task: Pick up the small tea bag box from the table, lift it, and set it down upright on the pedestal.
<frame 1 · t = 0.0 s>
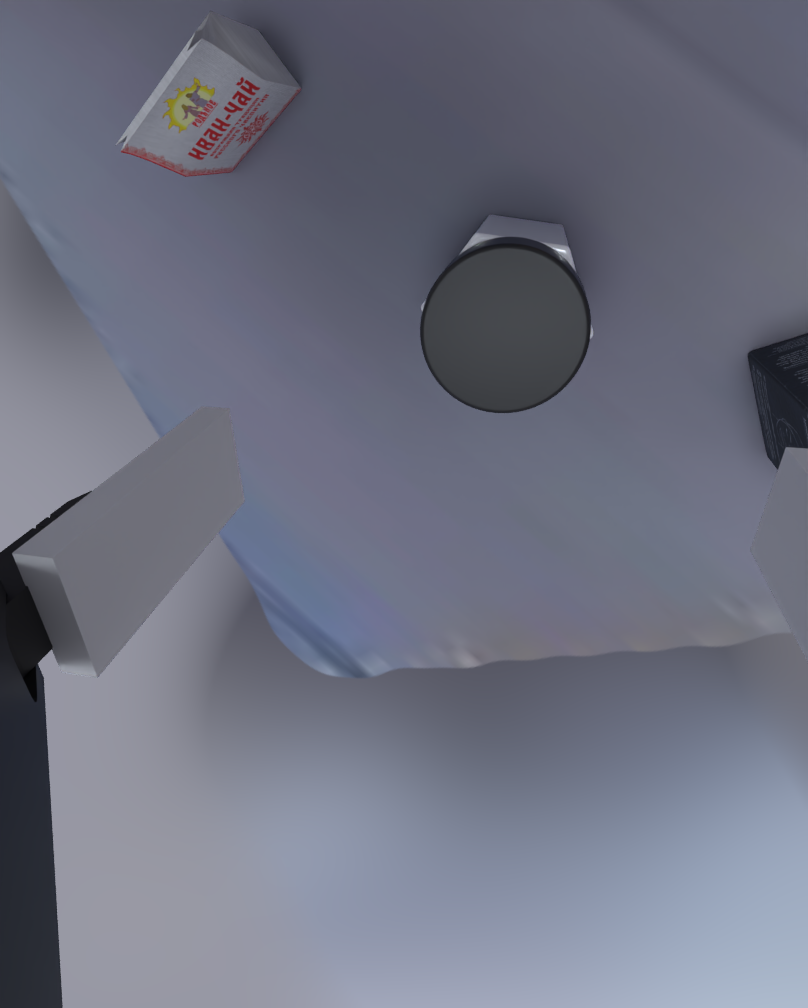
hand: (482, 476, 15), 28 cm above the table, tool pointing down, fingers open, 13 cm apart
box: (803, 390, 39), on the table
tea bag: (245, 105, 37), on the table
jar: (513, 284, 39), on the table
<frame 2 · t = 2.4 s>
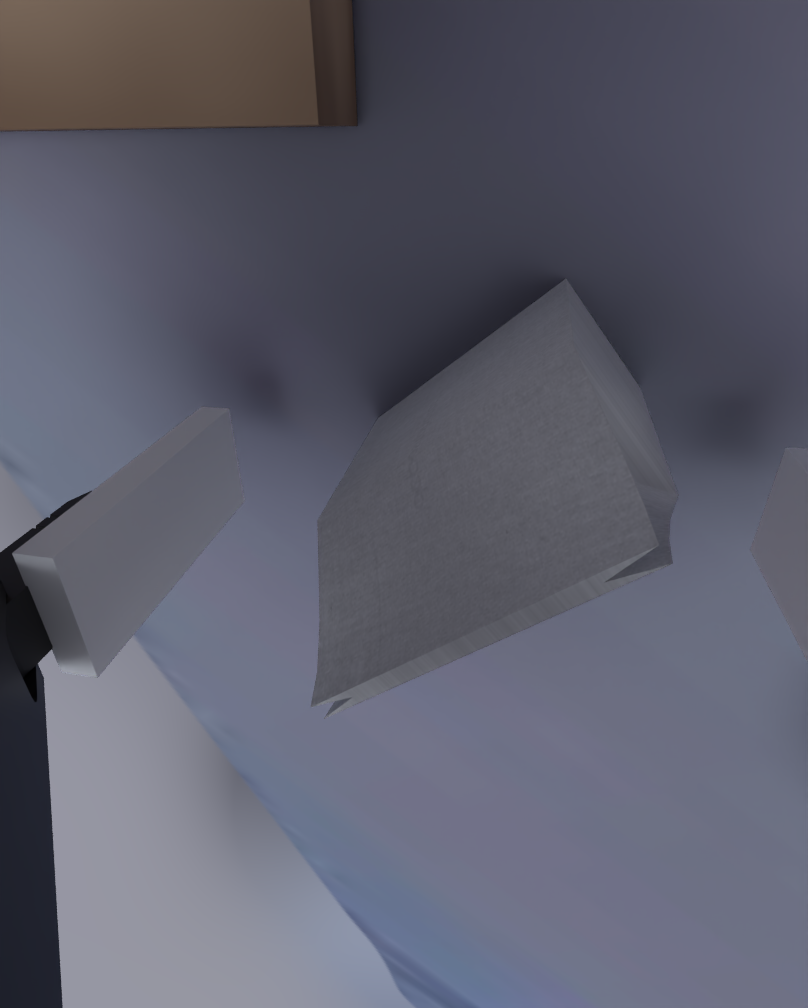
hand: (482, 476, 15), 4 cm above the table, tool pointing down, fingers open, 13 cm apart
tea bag: (501, 401, 18), on the table
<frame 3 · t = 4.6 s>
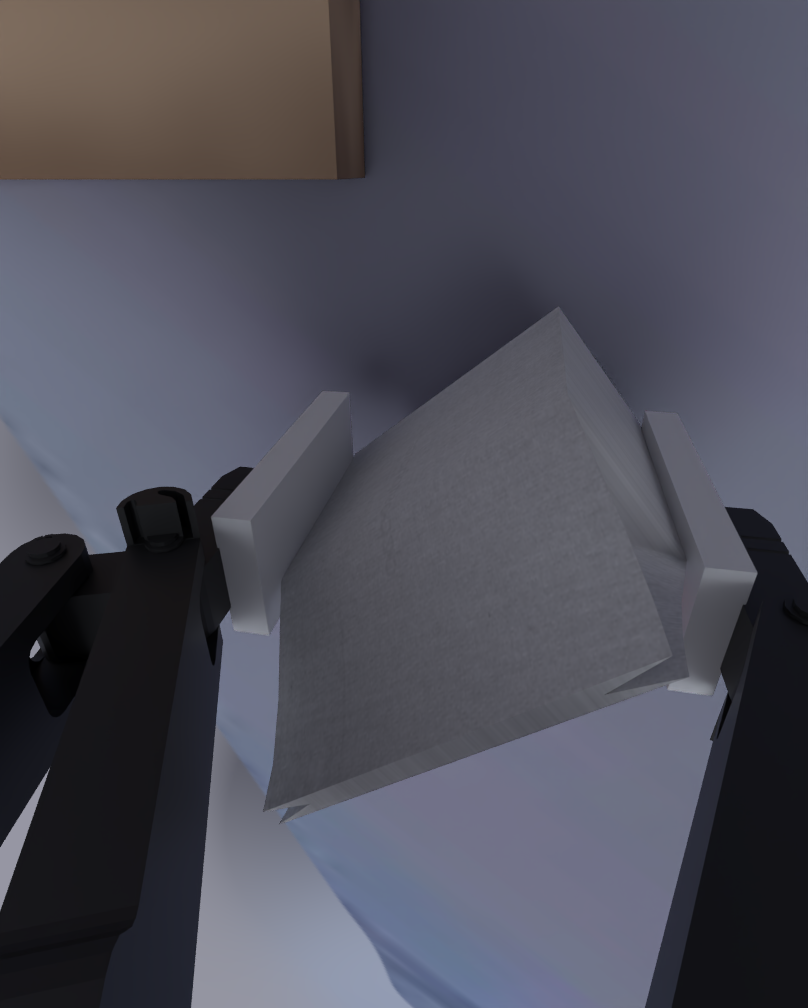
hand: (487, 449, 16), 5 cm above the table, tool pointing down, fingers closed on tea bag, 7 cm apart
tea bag: (489, 436, 17), point 4 cm above the table, touching gripper
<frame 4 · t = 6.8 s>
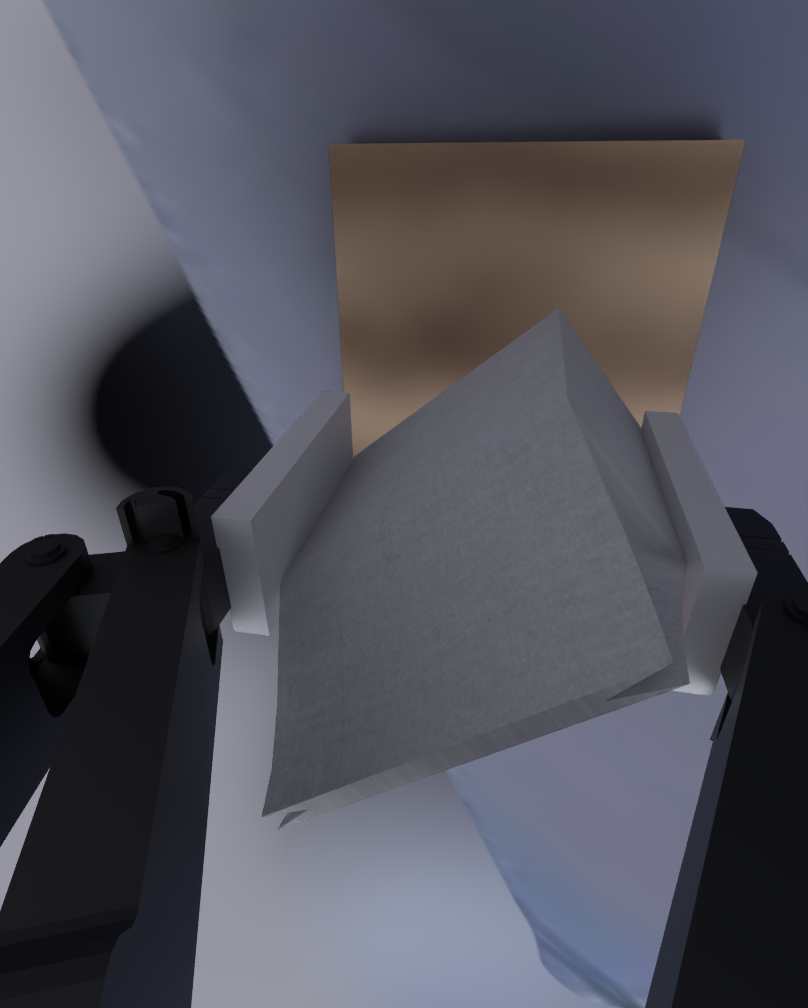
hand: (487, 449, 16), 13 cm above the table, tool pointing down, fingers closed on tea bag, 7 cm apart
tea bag: (489, 438, 16), point 12 cm above the table, touching gripper
pedestal: (511, 326, 27), on the table
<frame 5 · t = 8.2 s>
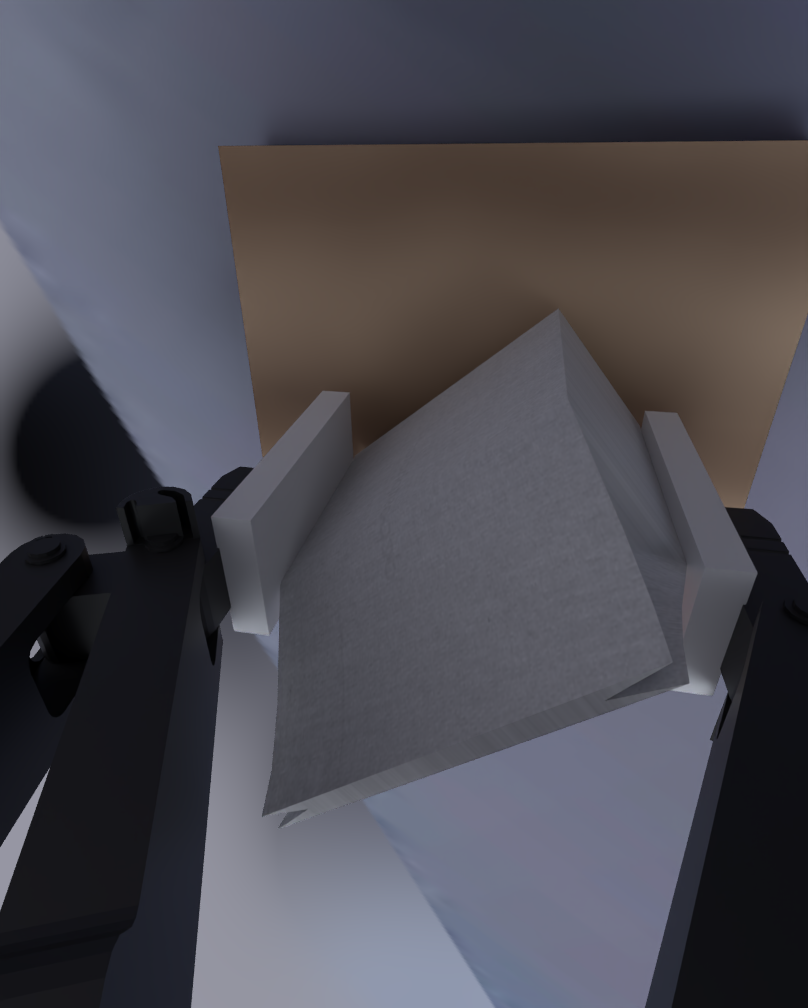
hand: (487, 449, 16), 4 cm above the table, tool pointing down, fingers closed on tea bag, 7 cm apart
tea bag: (489, 438, 17), point 3 cm above the table, touching gripper
pedestal: (498, 396, 19), on the table
when the fingers open (4 cm above the table, at t = 9.1 s): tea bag stays where it is, resting on pedestal.
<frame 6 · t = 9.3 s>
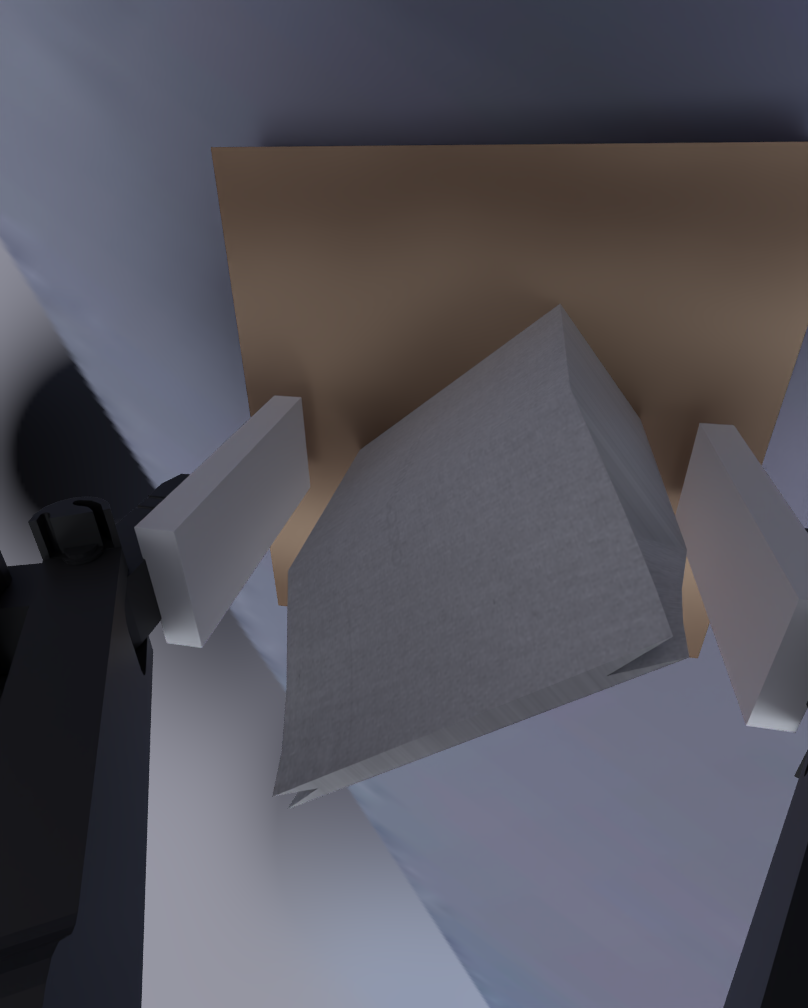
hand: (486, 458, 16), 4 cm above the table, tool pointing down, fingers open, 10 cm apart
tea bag: (492, 432, 17), point 3 cm above the table, touching pedestal
pedestal: (496, 400, 19), on the table
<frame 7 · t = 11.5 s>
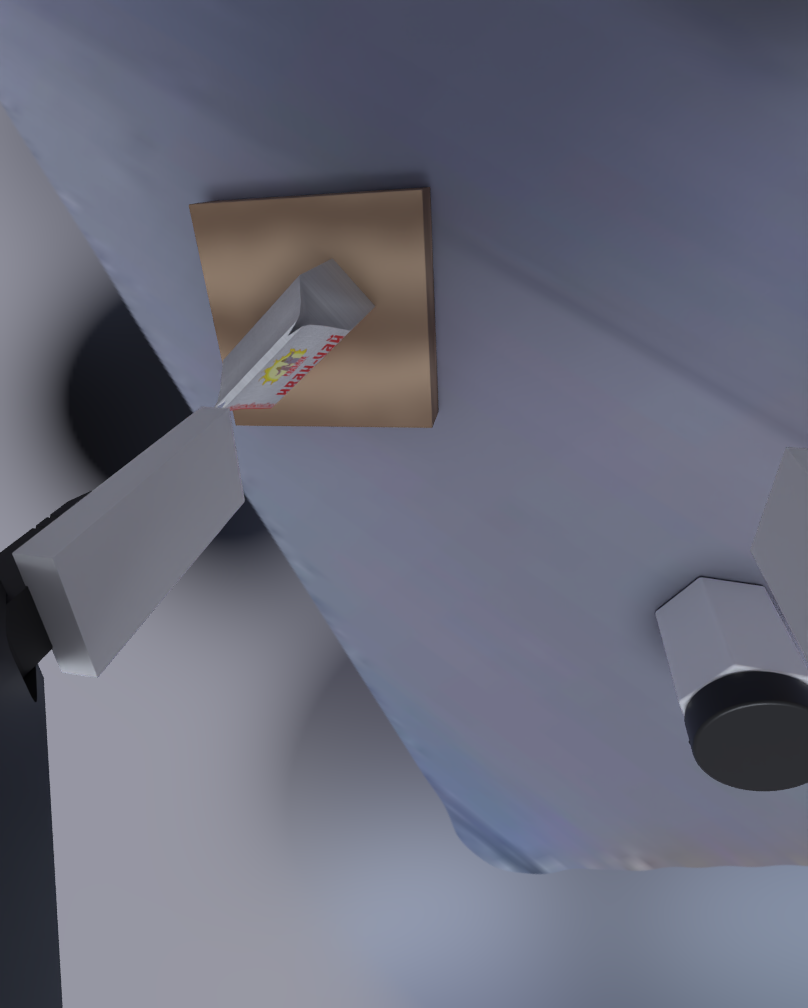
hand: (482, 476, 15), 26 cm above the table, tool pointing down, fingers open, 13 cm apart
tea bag: (318, 319, 38), point 3 cm above the table, touching pedestal
pedestal: (330, 311, 40), on the table
jar: (713, 618, 47), on the table
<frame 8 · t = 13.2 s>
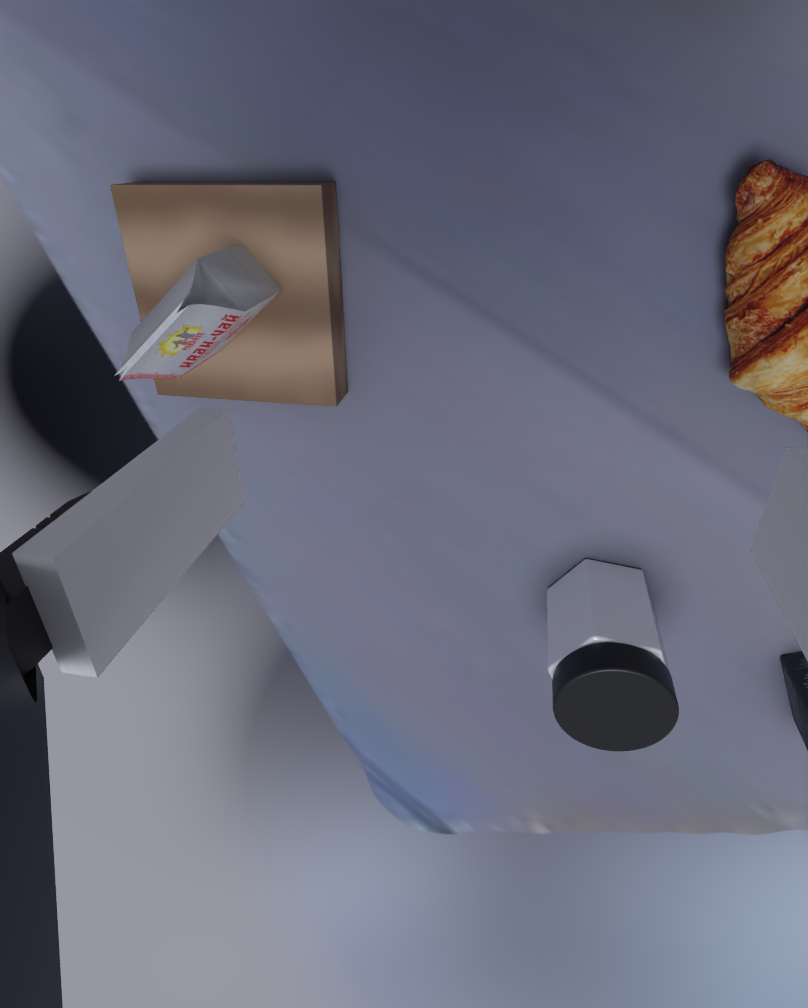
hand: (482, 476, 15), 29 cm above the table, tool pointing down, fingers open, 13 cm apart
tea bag: (231, 299, 41), point 3 cm above the table, touching pedestal
pedestal: (248, 292, 43), on the table
croissant: (802, 324, 38), on the table
jar: (599, 598, 51), on the table
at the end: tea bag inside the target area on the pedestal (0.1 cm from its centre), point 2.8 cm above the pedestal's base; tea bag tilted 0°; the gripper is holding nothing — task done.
